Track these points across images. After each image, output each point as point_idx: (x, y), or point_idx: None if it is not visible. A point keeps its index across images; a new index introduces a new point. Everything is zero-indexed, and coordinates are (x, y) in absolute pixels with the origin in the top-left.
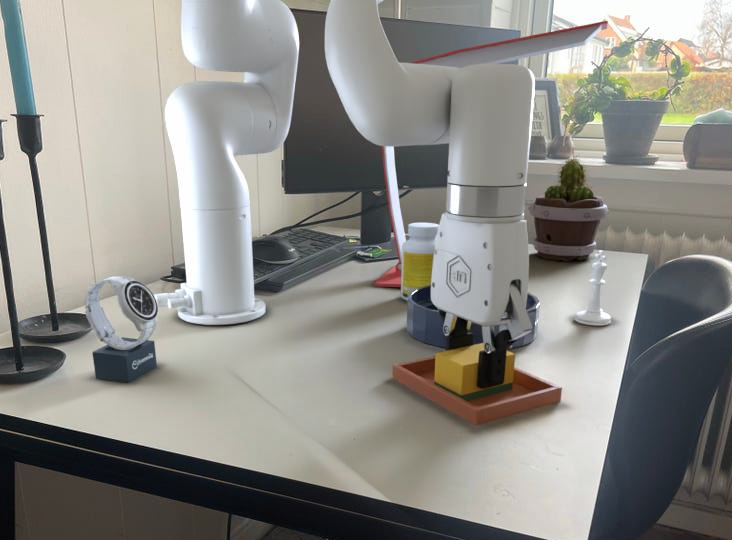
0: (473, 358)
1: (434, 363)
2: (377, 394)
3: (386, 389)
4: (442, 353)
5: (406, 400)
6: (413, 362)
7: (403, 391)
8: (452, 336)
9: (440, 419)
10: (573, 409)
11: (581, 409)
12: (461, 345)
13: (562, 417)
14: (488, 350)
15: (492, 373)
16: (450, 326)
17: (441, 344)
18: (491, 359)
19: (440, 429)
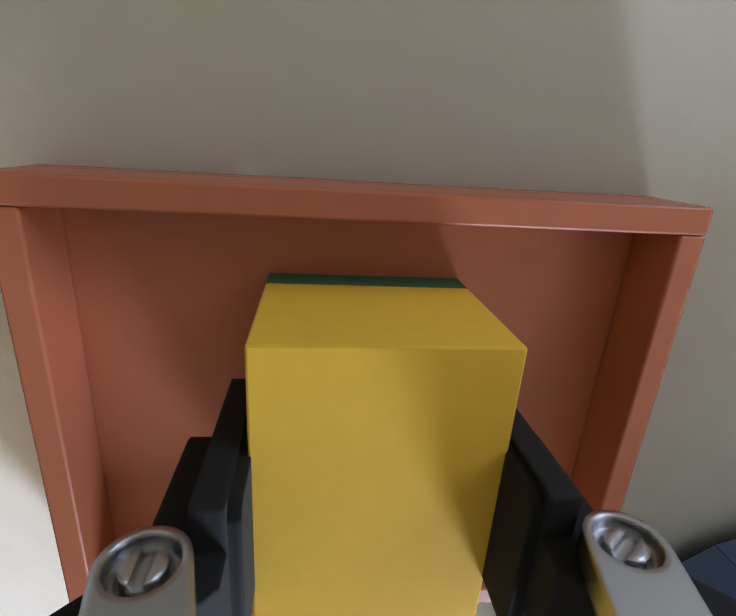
0: (319, 470)
1: (609, 411)
2: (601, 40)
3: (612, 120)
4: (494, 377)
5: (464, 115)
6: (660, 318)
7: (545, 172)
8: (562, 530)
9: (211, 106)
10: (62, 573)
11: (51, 591)
12: (499, 525)
13: (16, 510)
14: (162, 550)
15: (182, 460)
16: (611, 580)
17: (729, 551)
18: (169, 515)
19: (113, 23)
